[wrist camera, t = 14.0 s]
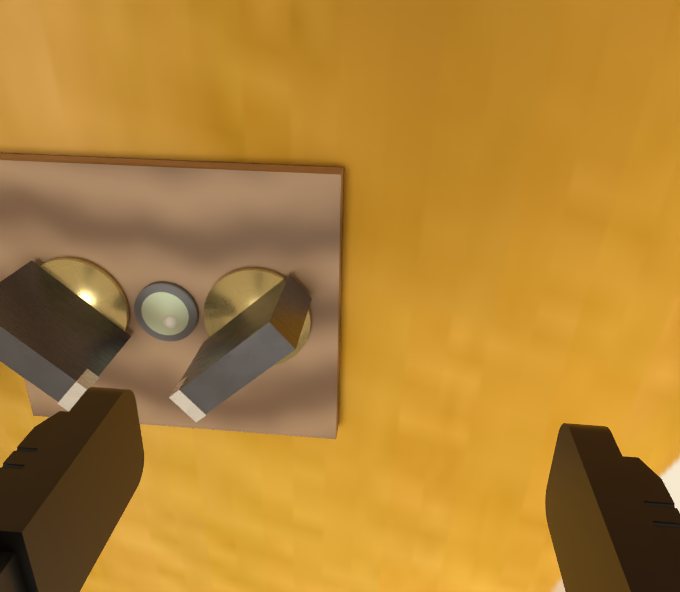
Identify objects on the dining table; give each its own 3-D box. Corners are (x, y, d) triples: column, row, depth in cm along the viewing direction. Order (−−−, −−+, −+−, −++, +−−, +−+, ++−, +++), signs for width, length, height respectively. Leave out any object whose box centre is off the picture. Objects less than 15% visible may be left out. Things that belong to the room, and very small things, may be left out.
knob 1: (5, 300, 48) (-67, 354, 41) (55, 230, 45) (-13, 275, 38) (102, 371, 50) (50, 435, 43) (156, 309, 47) (110, 365, 40)
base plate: (-12, 152, 45) (-39, 162, 42) (343, 167, 43) (339, 178, 40) (45, 401, 55) (26, 423, 52) (338, 424, 52) (334, 447, 50)
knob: (264, 241, 44) (236, 289, 36) (338, 320, 46) (325, 380, 39) (179, 311, 47) (137, 368, 40) (252, 382, 49) (225, 449, 42)
